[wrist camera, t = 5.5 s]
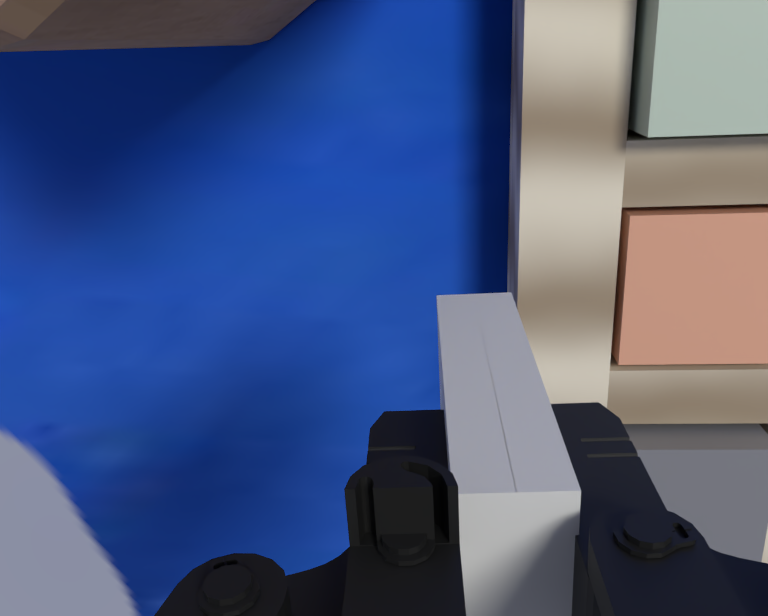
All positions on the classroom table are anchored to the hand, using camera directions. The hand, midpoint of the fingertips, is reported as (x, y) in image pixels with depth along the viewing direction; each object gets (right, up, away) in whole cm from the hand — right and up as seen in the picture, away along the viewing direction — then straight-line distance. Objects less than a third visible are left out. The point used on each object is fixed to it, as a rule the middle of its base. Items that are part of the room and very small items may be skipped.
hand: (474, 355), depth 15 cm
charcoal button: (+11, -6, +17) cm, 21 cm away
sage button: (+10, +11, +11) cm, 18 cm away
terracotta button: (+10, +3, +15) cm, 19 cm away
